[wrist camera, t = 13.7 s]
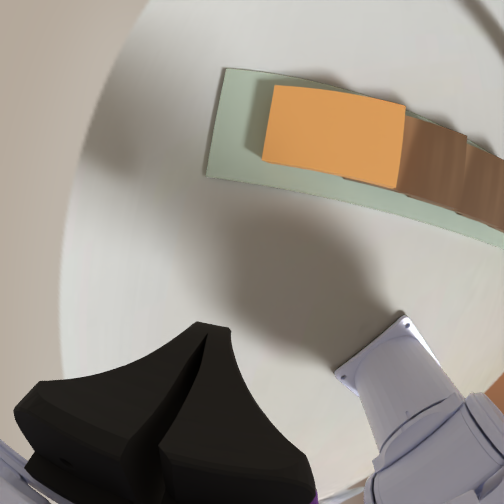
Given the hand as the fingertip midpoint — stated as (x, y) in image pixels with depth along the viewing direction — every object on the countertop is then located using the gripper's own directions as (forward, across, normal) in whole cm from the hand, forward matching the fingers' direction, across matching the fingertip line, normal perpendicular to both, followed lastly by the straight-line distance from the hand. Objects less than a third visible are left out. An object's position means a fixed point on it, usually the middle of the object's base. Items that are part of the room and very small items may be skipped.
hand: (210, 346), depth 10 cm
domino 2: (+9, -11, -10) cm, 17 cm away
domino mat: (+10, -14, -10) cm, 20 cm away
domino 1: (+9, -6, -10) cm, 14 cm away
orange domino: (+9, -1, -10) cm, 13 cm away
